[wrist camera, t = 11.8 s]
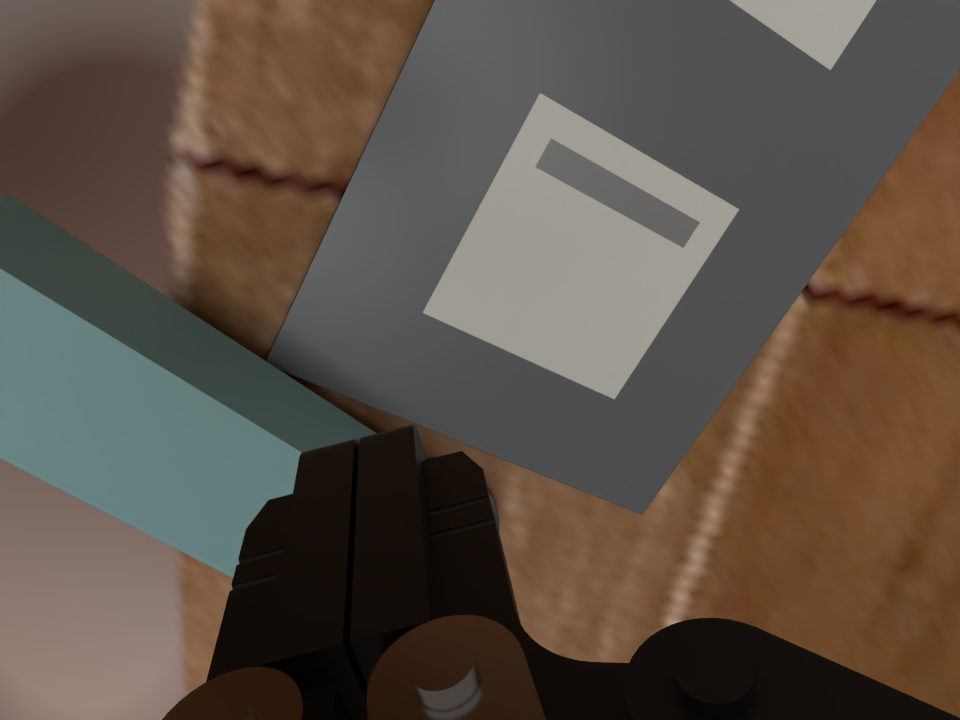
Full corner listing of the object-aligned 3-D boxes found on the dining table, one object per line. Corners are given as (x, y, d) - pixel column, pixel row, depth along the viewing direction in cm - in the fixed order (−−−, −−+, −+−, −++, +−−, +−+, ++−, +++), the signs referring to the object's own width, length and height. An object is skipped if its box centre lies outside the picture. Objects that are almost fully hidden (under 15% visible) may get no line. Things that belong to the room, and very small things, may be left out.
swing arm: (10, 194, 22) (-62, 231, 18) (513, 522, 29) (533, 594, 26) (-73, 321, 23) (-155, 378, 19) (431, 604, 30) (439, 684, 27)
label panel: (1158, -217, 22) (1167, -219, 22) (640, 511, 31) (642, 515, 30) (741, -656, 17) (745, -665, 17) (265, 361, 26) (264, 365, 25)
